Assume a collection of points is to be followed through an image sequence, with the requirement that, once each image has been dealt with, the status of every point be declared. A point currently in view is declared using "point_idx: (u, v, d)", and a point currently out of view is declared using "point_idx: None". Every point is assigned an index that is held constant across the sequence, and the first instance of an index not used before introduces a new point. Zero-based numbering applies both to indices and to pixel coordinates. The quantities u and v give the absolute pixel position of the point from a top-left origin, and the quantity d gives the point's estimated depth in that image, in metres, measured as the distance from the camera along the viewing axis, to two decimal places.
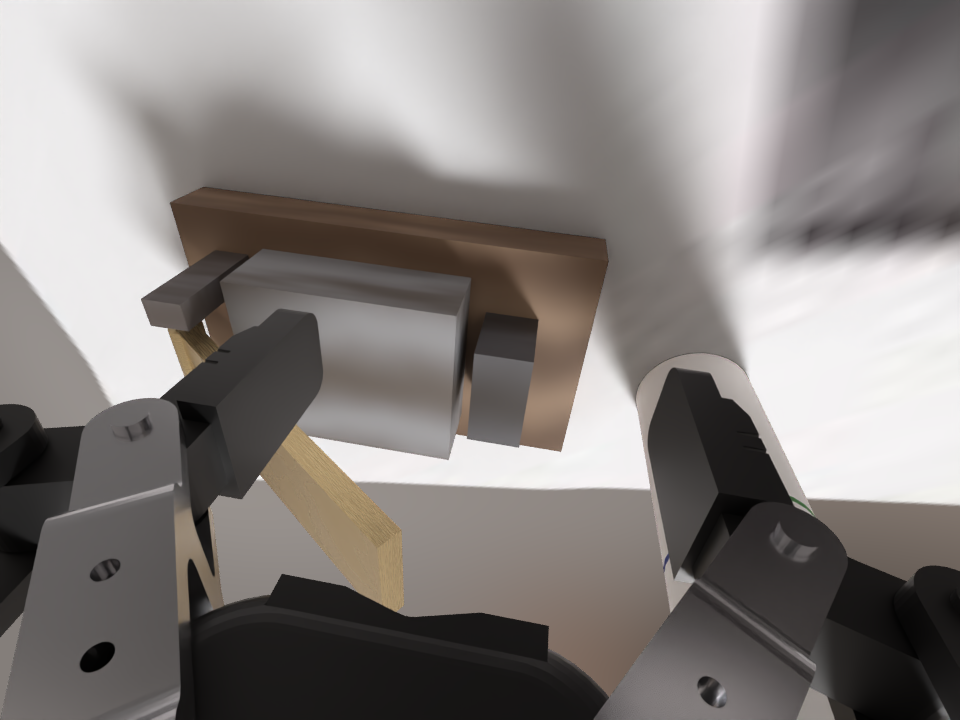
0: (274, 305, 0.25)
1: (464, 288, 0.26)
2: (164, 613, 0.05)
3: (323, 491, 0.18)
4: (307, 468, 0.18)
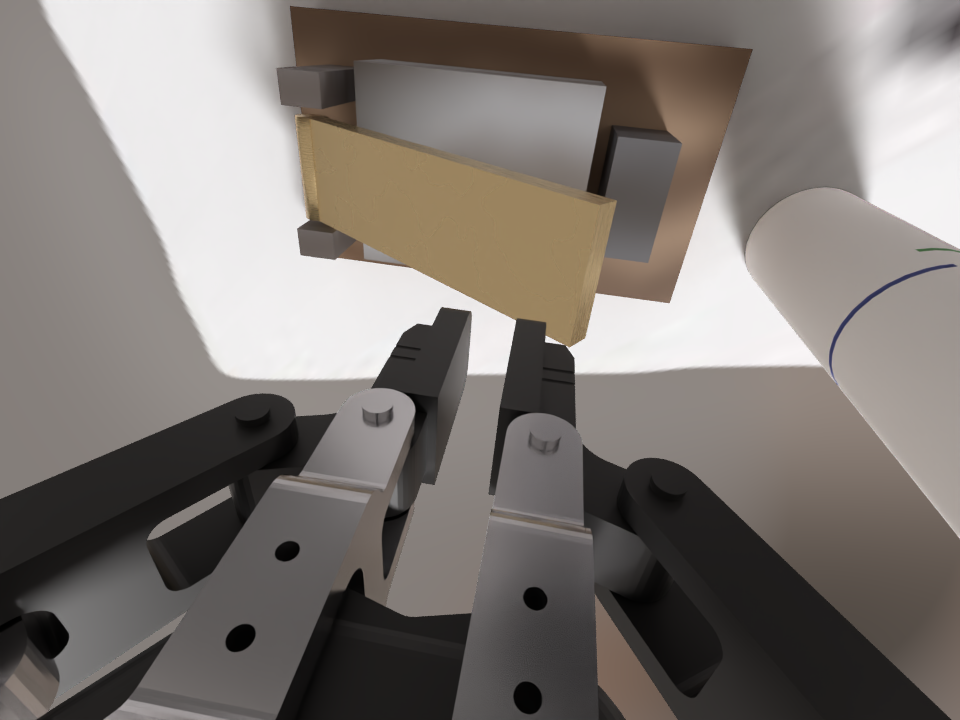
0: (409, 88, 0.24)
1: (599, 82, 0.25)
2: (302, 627, 0.04)
3: (517, 183, 0.16)
4: (492, 172, 0.17)
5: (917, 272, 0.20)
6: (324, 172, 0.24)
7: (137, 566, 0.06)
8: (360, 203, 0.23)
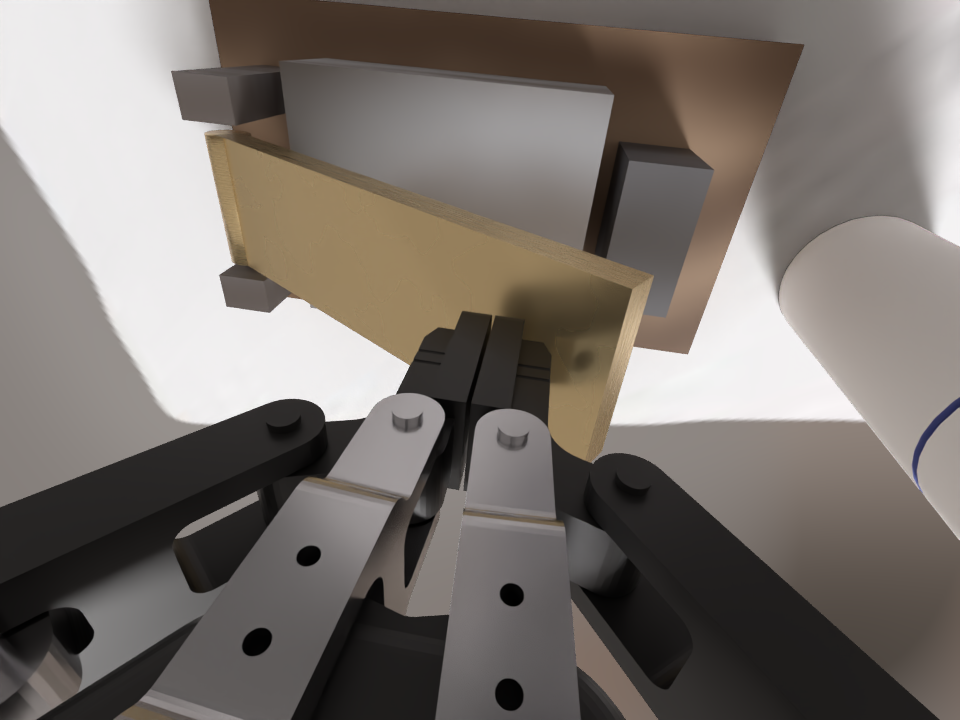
0: (353, 98, 0.18)
1: (604, 88, 0.19)
2: (318, 636, 0.04)
3: (502, 244, 0.11)
4: (465, 224, 0.12)
5: None
6: (247, 207, 0.19)
7: (162, 567, 0.06)
8: (293, 249, 0.17)
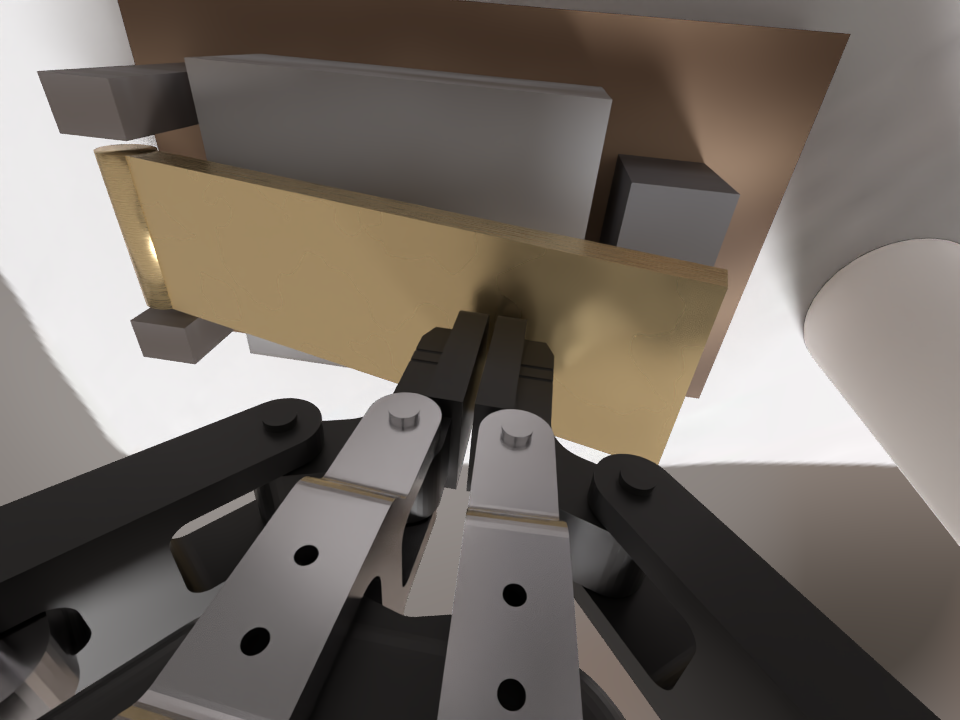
0: (281, 104, 0.14)
1: (600, 89, 0.15)
2: (316, 635, 0.04)
3: (566, 255, 0.10)
4: (512, 238, 0.11)
5: None
6: (171, 238, 0.15)
7: (160, 567, 0.06)
8: (251, 284, 0.15)
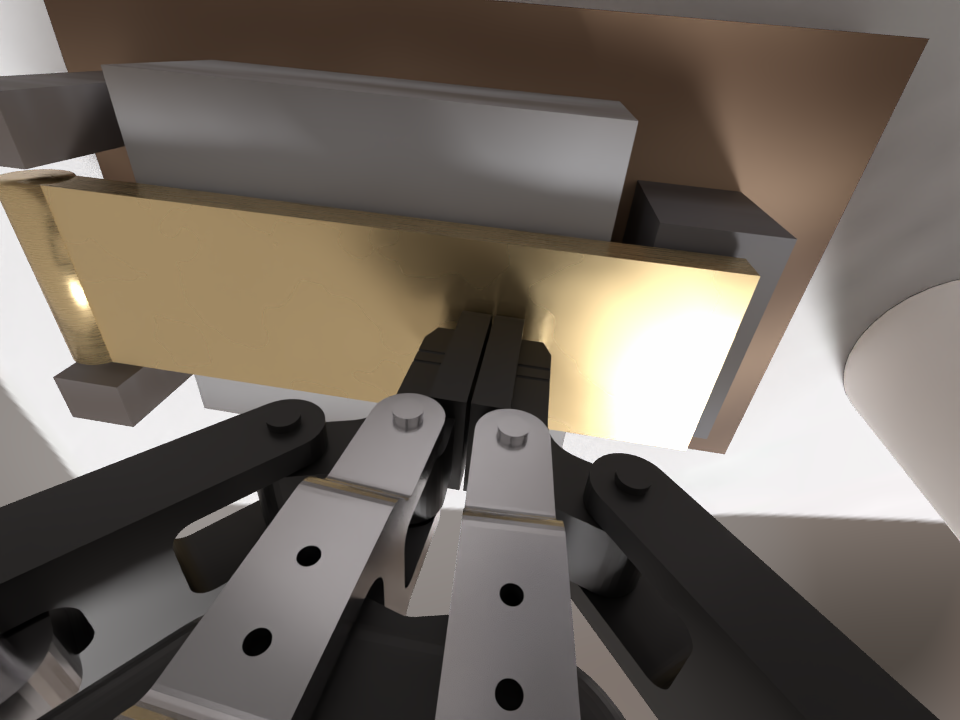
0: (223, 122, 0.11)
1: (618, 105, 0.12)
2: (318, 636, 0.04)
3: (604, 259, 0.10)
4: (546, 247, 0.11)
5: None
6: (110, 280, 0.13)
7: (162, 567, 0.06)
8: (226, 322, 0.13)
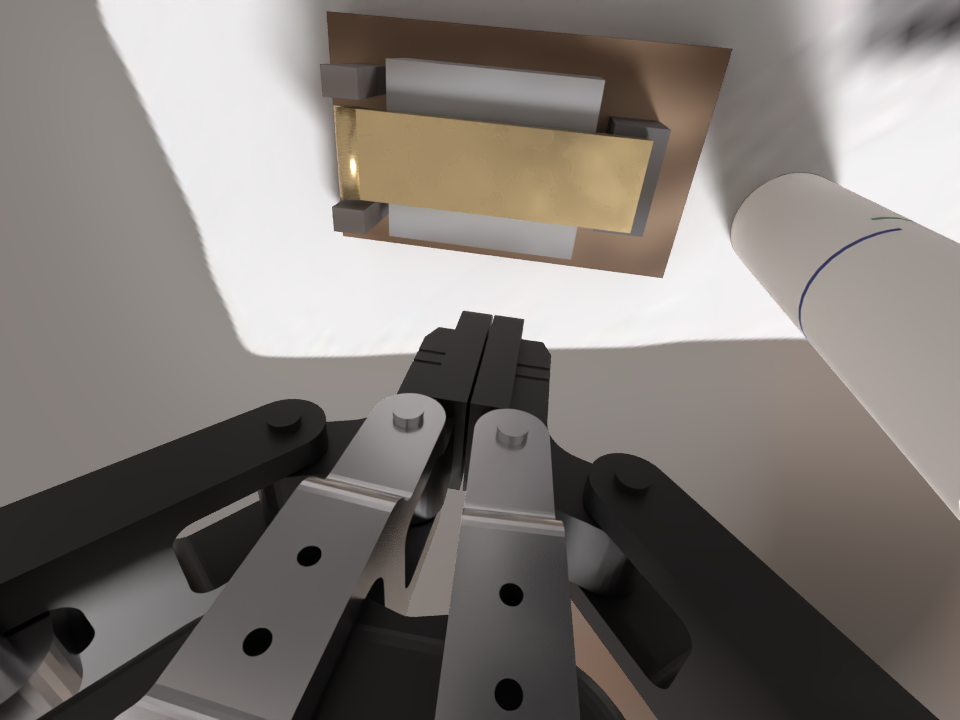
0: (433, 82, 0.27)
1: (599, 77, 0.28)
2: (319, 636, 0.04)
3: (592, 135, 0.26)
4: (568, 131, 0.26)
5: (869, 236, 0.23)
6: (373, 154, 0.28)
7: (163, 568, 0.06)
8: (423, 174, 0.28)
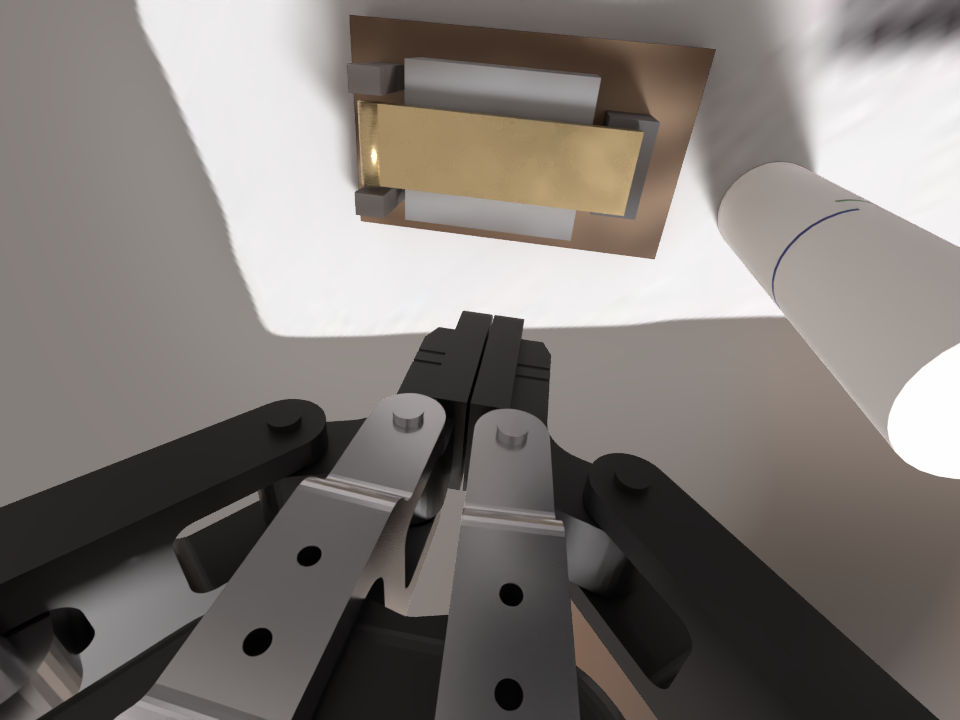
0: (447, 80, 0.30)
1: (596, 75, 0.31)
2: (319, 636, 0.04)
3: (589, 127, 0.29)
4: (568, 123, 0.29)
5: (832, 215, 0.26)
6: (392, 144, 0.31)
7: (163, 567, 0.06)
8: (437, 162, 0.32)
